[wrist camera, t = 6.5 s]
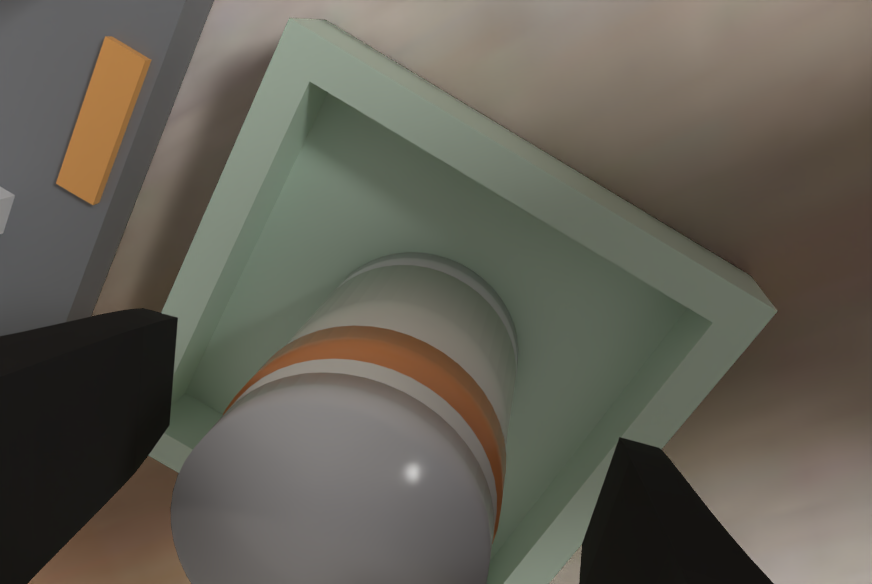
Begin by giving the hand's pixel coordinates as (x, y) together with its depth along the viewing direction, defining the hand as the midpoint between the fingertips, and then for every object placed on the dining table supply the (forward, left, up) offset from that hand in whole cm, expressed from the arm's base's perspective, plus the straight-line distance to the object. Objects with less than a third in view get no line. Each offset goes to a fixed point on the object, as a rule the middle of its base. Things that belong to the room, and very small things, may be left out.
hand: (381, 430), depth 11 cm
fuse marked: (0, 0, -3) cm, 3 cm away
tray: (0, 0, -4) cm, 4 cm away
